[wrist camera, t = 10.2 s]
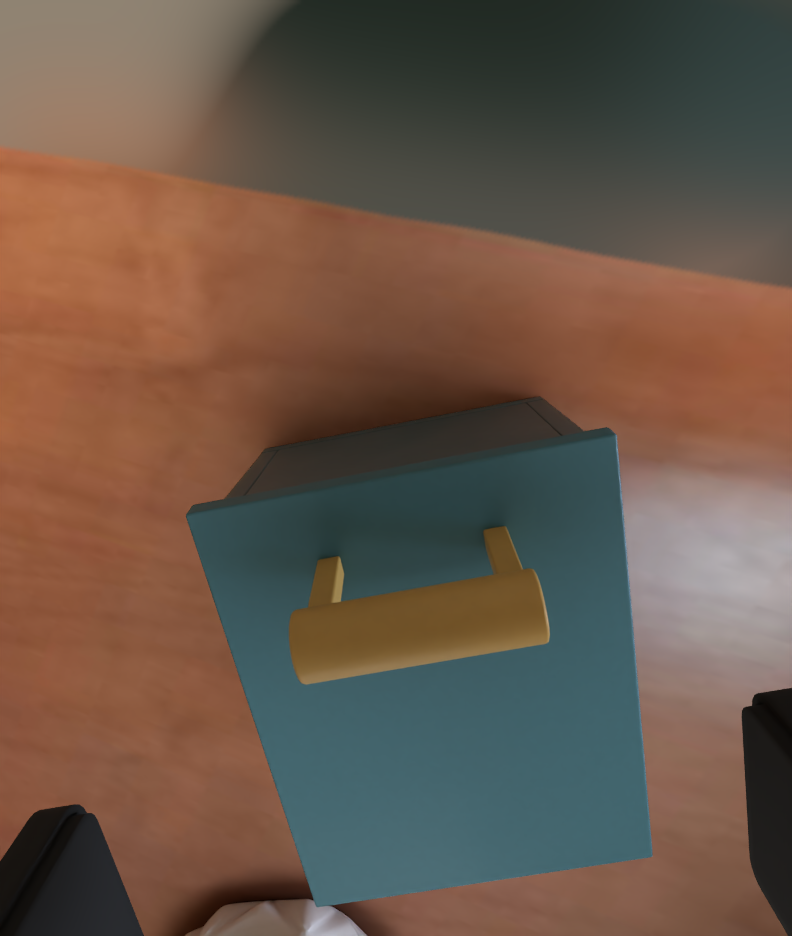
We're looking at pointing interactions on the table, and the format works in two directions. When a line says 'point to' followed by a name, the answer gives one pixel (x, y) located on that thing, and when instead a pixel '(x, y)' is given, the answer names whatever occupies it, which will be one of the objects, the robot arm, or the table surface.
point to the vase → (278, 920)
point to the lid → (441, 665)
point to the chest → (404, 444)
